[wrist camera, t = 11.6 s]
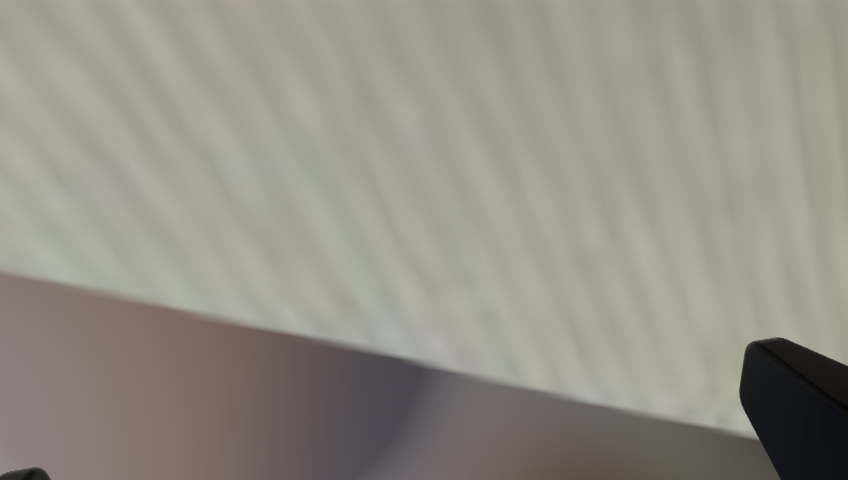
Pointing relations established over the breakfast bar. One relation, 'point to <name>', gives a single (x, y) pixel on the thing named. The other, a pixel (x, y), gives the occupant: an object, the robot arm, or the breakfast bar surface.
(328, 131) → the breakfast bar surface
